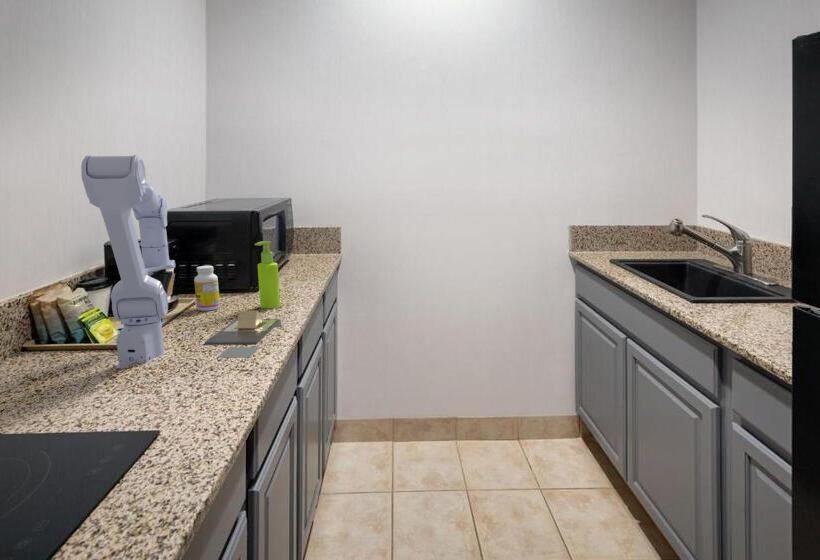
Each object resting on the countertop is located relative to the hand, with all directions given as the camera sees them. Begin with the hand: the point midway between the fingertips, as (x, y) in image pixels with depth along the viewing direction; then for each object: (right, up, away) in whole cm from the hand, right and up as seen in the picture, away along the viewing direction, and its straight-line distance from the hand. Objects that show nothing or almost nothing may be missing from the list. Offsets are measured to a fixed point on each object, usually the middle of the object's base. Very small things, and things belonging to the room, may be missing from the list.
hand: (160, 302), depth 133 cm
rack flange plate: (+20, -9, +2) cm, 22 cm away
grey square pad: (+24, -12, -14) cm, 30 cm away
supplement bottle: (-1, -4, +33) cm, 33 cm away
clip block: (+20, -7, +4) cm, 22 cm away
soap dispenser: (+18, -3, +35) cm, 39 cm away
